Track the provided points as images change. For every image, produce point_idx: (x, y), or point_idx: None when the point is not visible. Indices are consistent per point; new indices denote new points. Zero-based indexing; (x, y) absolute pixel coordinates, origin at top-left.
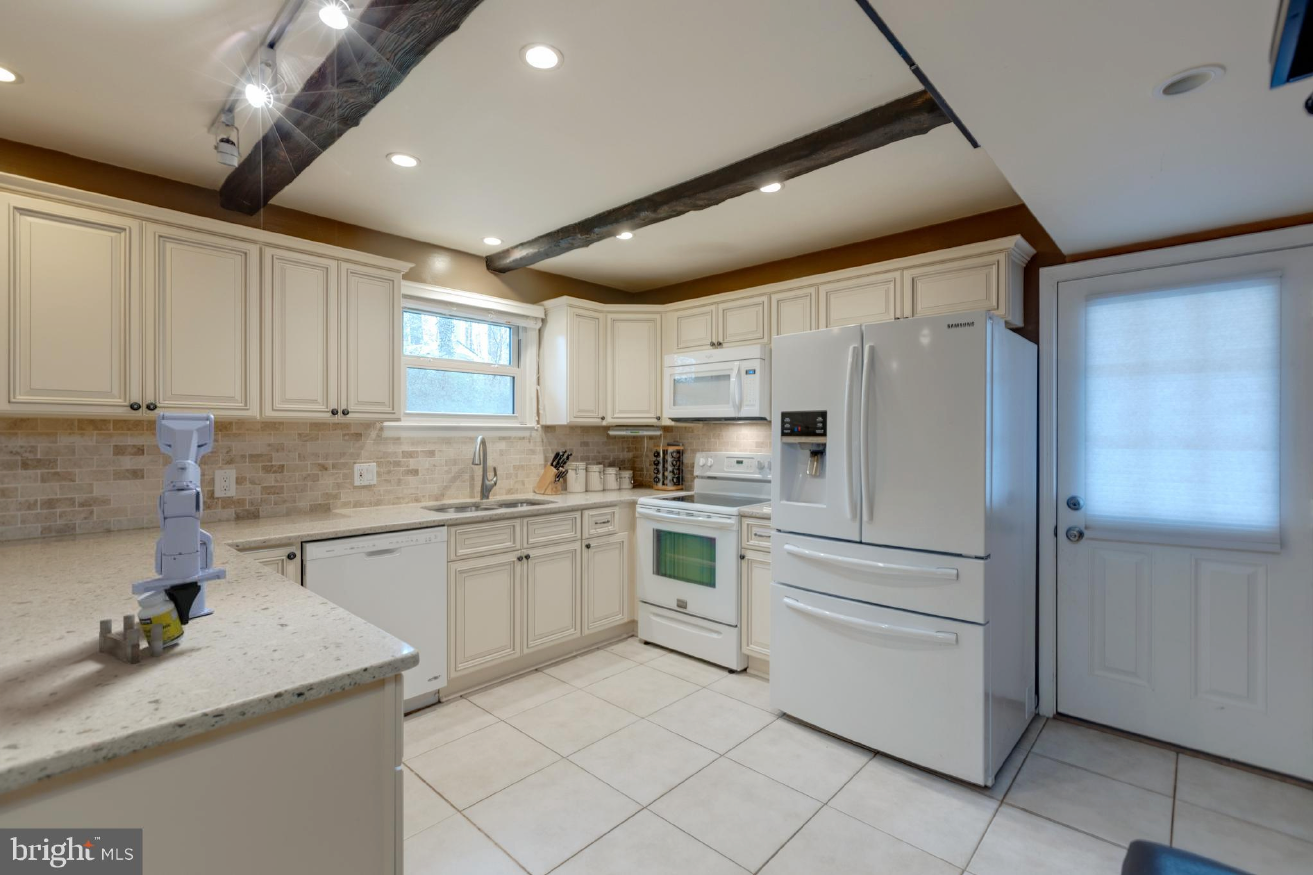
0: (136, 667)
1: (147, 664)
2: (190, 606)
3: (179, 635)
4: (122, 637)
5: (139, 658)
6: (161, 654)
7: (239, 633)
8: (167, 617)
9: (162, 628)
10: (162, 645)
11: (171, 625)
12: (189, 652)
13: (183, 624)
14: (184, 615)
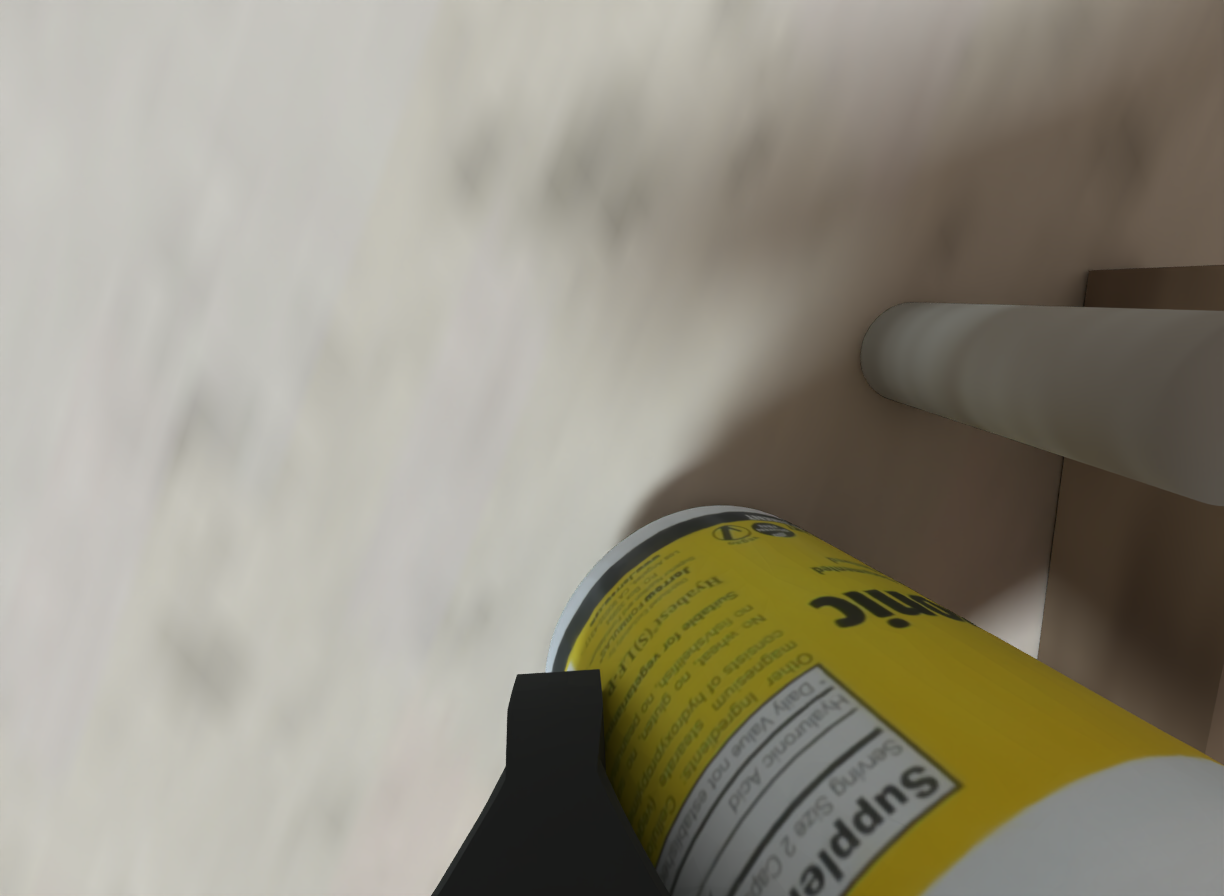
0: (1189, 113)
1: (1096, 113)
2: (462, 887)
3: (651, 547)
4: (1209, 746)
5: (1120, 272)
6: (888, 311)
7: (38, 372)
8: (949, 689)
9: (1098, 356)
10: (917, 340)
11: (802, 605)
12: (689, 134)
13: (584, 674)
14: (589, 748)
